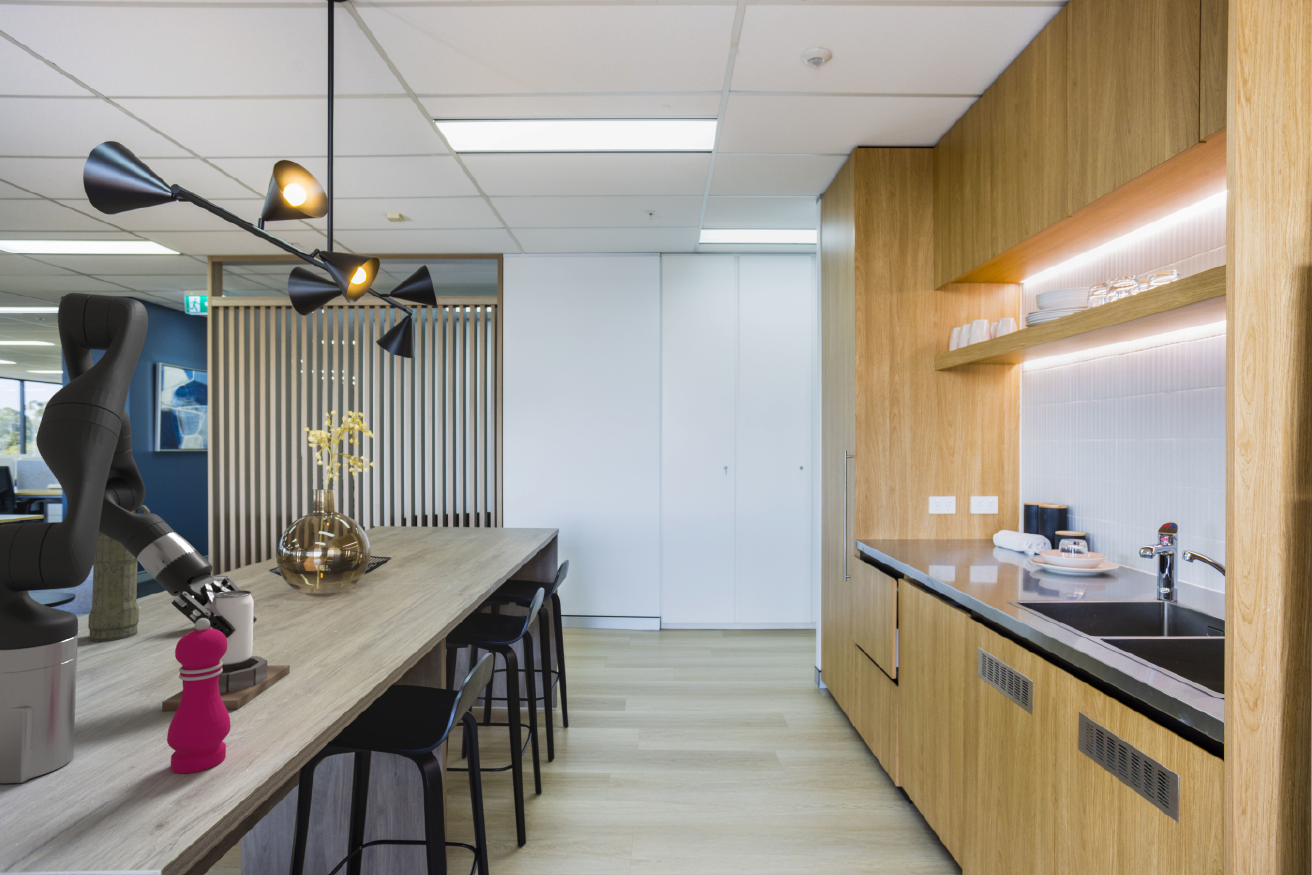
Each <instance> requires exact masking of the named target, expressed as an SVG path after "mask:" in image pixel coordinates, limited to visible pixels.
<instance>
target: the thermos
mask: <svg viewBox="0 0 1312 875" xmlns="http://www.w3.org/2000/svg"><path fill="white" fill-rule="evenodd" d="M139 510H141V511H142V512H143V513H151V510H150V509H149V507H148V506H146V504H142V505H141V506H140V507H139V508H138V509H137V510H135V511H133V512H131V513H135V514H139ZM143 513H142V514H143ZM138 562H139V561H138V560H137V559H136V558H135V557H134V556H133V555H132V554H131V553H130V552H129V551H128V550H127V549H126V548H125V547H124V546H123V545H122V544H121V543H119V542H117V541H115V540H113V539H111V538H109V537H108V536H106V535H104V534H102V533H100V532H99V533H98V540H97V547H96V553H95V558H94V562H93V566H92V568H93V570H92V601H91V602H92V605H91V609H90V612H89V613H88V622H87V623H88V624H87V626H88V627H87V628H88V630H89V636H88V640H89V641H91V642H110V641H119V640H123V639H124V640H125V639H127V638H131V637H134V636H136V635H137V634H138V623H139V621H140V608H139V604H138V601H137V593H138V592H137V588H138V587H137V586H138Z"/></svg>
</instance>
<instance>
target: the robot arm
mask: <svg viewBox="0 0 1312 875" xmlns="http://www.w3.org/2000/svg"><path fill="white" fill-rule="evenodd" d="M60 300H61V301H60V302H59V305H58V310H57V325H58V326H57V327H58V334H59V339H60V344H61V348H62V353H63V357H64V362H65V367H66V370H67V375H68V379H69V382H68V383H67V384H66V385H64V386H63V387H61V388H60V389H59V390H58V391H57V392H55V394H53V395H52V397H51V398H50V399H49V400H48V401H47V403H46V405H45V407H44V411H43V414H42V417H41V421H40V423H39V427H38V431H37V433H36V437H35V439H36V440H35V443H36V447H37V450H38V452H39V455H40V456H41V458H42V460H43V461H44V462H45V464H46V466H47V467H48V468H49V470H50V471H51V473H52V475H53V476H54V478H55V479H56V481H57V482H58V483H59V485H60V488H61V489H62V491H63V493H64V496H65V498H66V513H65V517H64V519H63V520H62V521H55V522H54V521H53V522H21V523H20V522H17V523H16V522H14V523H4V524H0V784H20V783H25V782H26V781H28V780H30V779H34V778H36V777H40V776H42V775H43V776H44V774H48V773H50V772H53V771H55V770H58V769H60V768H62V767H64V766H66V765H68V764H69V763H70V762H71V761H72V760H73V759H74V757H75V754H74V753H75V731H76V729H75V728H76V726H75V725H76V724H75V723H76V720H75V719H76V703H77V702H76V697H77V695H76V694H77V693H76V692H77V670H78V668H77V666H78V664H77V662H78V640H79V638H78V635H79V634H78V632H79V619H78V616H77V615H76V614H75V613H73V612H70V611H67V610H63V609H59V608H54V607H51V606H48V605H45V604H42V603H40V602H39V601H36V600H35V599H33V598H32V597H31V596H30V594H29V592H33V591H48V590H63V589H72V588H76V587H79V586H81V585H82V584H83V583H85V581H86V580H87V579H88V577H89V576H90V574H91V572H92V568H93V562H94V558H95V553H96V547H97V540H98V533H99V532H100V533H102V534H104V535H106V536H108V537H109V538H111V539H113V540H115V541H117V542H119V543H121V544H122V545H123V546H124V547H125V548H126V549H127V550H128V551H129V552H130V553H131V554H132V555H133V556H134V557H135V558H136V559H137V560H138V562H139V563H140V565H141V566H142V567H143V569H144V571H146V572H147V573H148V574H149V575H150V576H151V577H152V579H154V580H155V581H156V582H157V583H158V584H160V586H161V587H162V588H163V589H164V590H165V591H166V592H167V593H168V594H170V595H171V596H172V597H176V598H175V599H174V600H172V601H171V605H172V606H173V607H175V608H176V609H177V610H178V611H179V612H180V613H181V614H182V615H184V616H185V617H186V618H187V619H188V620H189V621H191V622H192V623H193V624H194V625H195V623H196V621H197V620H199V619H201V618H206V619H208V620H209V621H210V626H211V627H212V628H213V629H216V630H219V631H221V632H222V633H223V634H224V635H225V636H226V638H228V637H229V636H231V635H232V634H233V633H234V632H235V628H234V627H233V626H232V625H231V624H230V623H229V622H228V621H227V620H226V619H225V618H224V617H223V616H222V615H220V614H219V612H218V610H217V609H216V607H215V605H216V599H215V595H216V594H218V593H221V592H227V591H237V590H241V589H240V588H239V587H238V586H237V584H236V583H235V582H234V581H233V580H232V579H231V578H230V577H229V578H228V577H225V578H224V579H223V580H222V581H218V580H216V579H215V578H213V577H212V576H213V575H211V574H212V571H213V569H214V568H213V567H214V566H213V565H212V564H211V563H210V562H209V561H208V560H207V559H206V558H205V557H204V556H203V555H202V554H201V553H200V552H199V551H198V550H197V549H196V548H195V547H194V546H193V545H192V544H191V543H190V542H189V541H188V540H186V539H185V538H184V537H183V536H181V535H180V534H178V533H177V532H176V531H175V530H174V529H173V528H172V527H171V526H170V525H169V524H168V523H167V522H166V521H165V520H164V519H163V518H162V517H161V516H159V515H158V514H156V513H152V512H150V513H138V514H135V513H131V512H133V511H135V510H137V509H138V508H139V507H140V506H141V505H143V503H144V501H145V498H146V486H145V483H144V481H143V479H142V476H141V473H140V471H139V469H138V466H137V462H136V461H135V458H134V456H133V438H132V437H133V436H132V435H133V434H132V433H133V432H132V431H133V430H132V423H131V420H130V416H129V414H128V412H127V411H126V409H125V407H126V402H127V398H128V393H129V390H130V385H131V381H132V378H133V375H134V373H135V371H136V367H137V364H138V362H139V359H140V357H141V353H142V351H143V348H144V345H145V343H146V342H145V341H146V337H147V333H148V326H149V316H148V311H147V309H146V307H145V305H144V304H143V303H142V302H140V301H139V300H136V299H135V298H134V299H133V298H129V297H123V296H122V297H121V296H113V295H112V296H111V295H105V294H104V295H102V294H95V293H94V294H93V293H83V292H71V293H70V292H69V293H67V294H65V295H64V296H63V297H62V298H61V299H60ZM91 350H98V351H105V352H104V354H103V356H102V357H101V358H100V360H98V362H96V363H94V361H93V357H92V351H91ZM139 509H140V508H139ZM139 509H138V510H139ZM194 613H195V614H194ZM219 615H220V616H219ZM197 616H198V617H197ZM257 620H258V618H257V617H256V616H255V615H254V614H253V624H255V623H256V622H257Z"/></svg>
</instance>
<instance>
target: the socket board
mask: <svg viewBox="0 0 1312 875" xmlns="http://www.w3.org/2000/svg"><path fill="white" fill-rule="evenodd" d="M222 669H223V671H222V673H220V674H219V680H218V685H219V692H220V696H221V699H222V701H223V703H224V705H225V707H226V709H227V711H229V710H230V711H232V710H239V709H241V708H242V707H243V706H244V705H246V704H248V703H249V702H250V701H252V700H254V699H255V698H256V697H258V696H259V695H261V694H262V693H263V692H265V691H266V690H268V689H269V688H271V686H273V685H276V684H277V683H278V682H279V681H281V679H283V678H284V677H287V675H289V674H290V672H291V671H290V670H291V667H290V664H284V665H280V664H278V665H275V664H273V665H270V664H269V665H268V660H266V659H265V658H264V657H261V656H258V655H256V656H255V655H252V656H251V657H250V659H248V660H247V661H244V662H242V663H238V664H232V665H222ZM182 691H183V690H181V691H179V692H177V693H176V694H173V695H171V696H170V697H169V698H167V699H165V700H163V701H162V702H161V712H176V711H177V709H178V707H179V705H180V701H181V698H182Z"/></svg>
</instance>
